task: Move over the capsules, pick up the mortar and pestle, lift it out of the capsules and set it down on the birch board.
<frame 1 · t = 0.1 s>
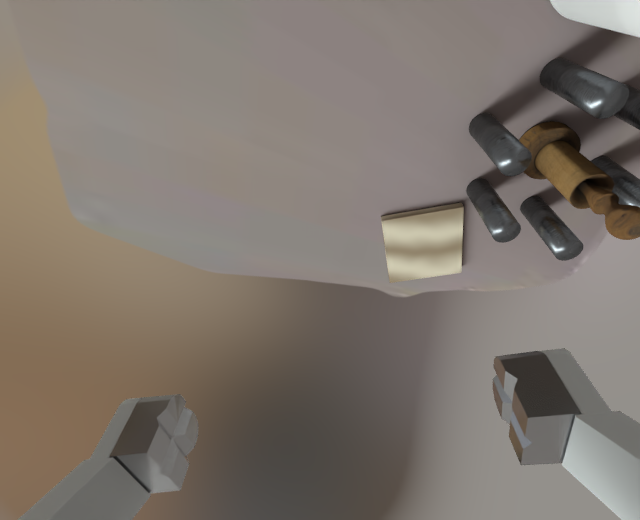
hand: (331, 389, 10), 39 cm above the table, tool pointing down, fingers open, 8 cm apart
birch board: (422, 243, 55), on the table
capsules: (542, 147, 45), on the table
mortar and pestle: (541, 146, 45), on the table
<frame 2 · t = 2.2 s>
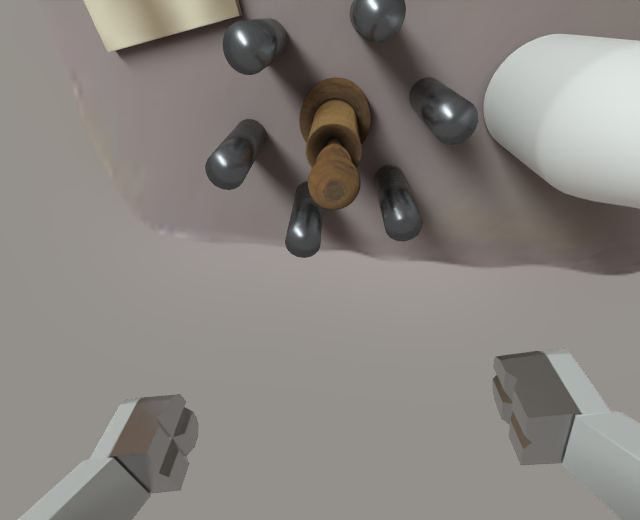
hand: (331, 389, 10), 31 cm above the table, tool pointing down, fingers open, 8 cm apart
wine bottle: (533, 94, 33), on the table
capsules: (335, 116, 35), on the table
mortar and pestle: (335, 115, 35), on the table
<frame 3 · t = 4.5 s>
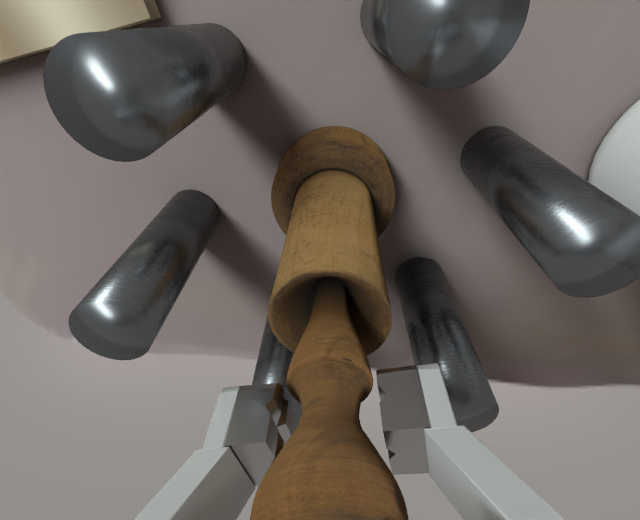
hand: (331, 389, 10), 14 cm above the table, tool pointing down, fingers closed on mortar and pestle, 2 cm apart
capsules: (333, 185, 21), on the table
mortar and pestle: (333, 184, 21), on the table, touching gripper
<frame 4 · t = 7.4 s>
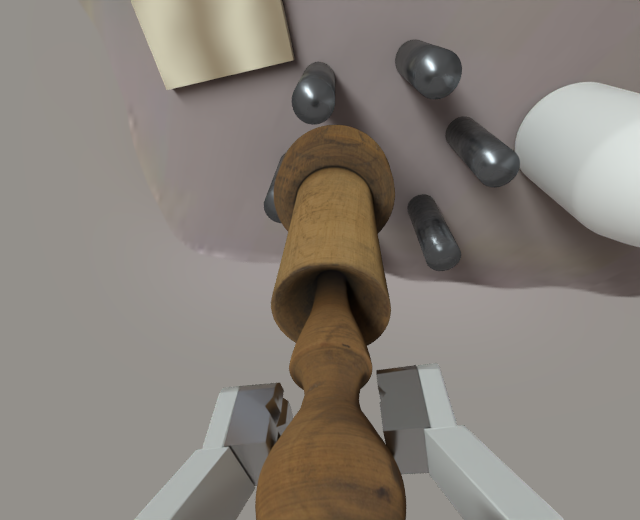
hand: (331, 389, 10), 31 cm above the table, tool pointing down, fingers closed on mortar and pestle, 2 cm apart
birch board: (209, 2, 31), on the table
wine bottle: (560, 133, 36), on the table
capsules: (374, 149, 37), on the table
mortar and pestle: (334, 182, 21), point 17 cm above the table, touching gripper
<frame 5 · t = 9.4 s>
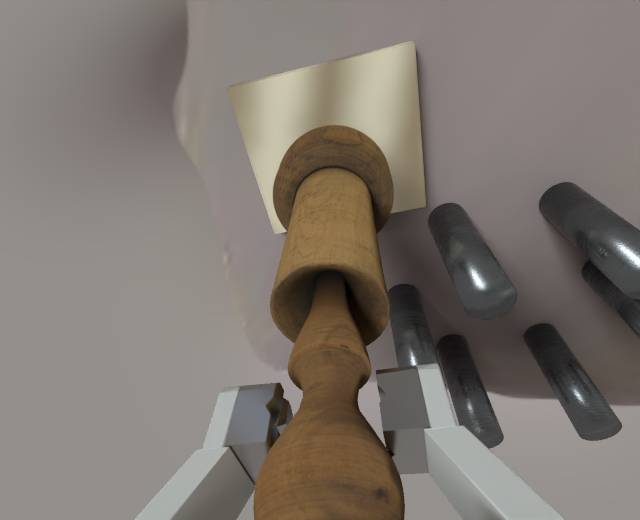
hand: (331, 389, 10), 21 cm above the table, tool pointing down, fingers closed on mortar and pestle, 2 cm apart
birch board: (334, 147, 27), on the table
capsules: (497, 283, 33), on the table
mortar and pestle: (333, 182, 21), point 6 cm above the table, touching gripper
when the fingers open (16 cm above the table, at t = 10.7 s): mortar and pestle stays where it is, resting on birch board.
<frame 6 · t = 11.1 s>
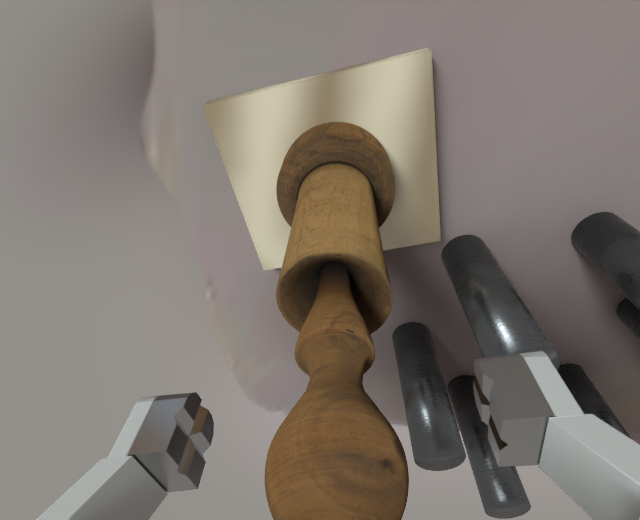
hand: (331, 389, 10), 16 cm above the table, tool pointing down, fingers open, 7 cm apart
birch board: (332, 172, 23), on the table
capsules: (519, 321, 29), on the table
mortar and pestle: (335, 178, 22), point 1 cm above the table, touching birch board
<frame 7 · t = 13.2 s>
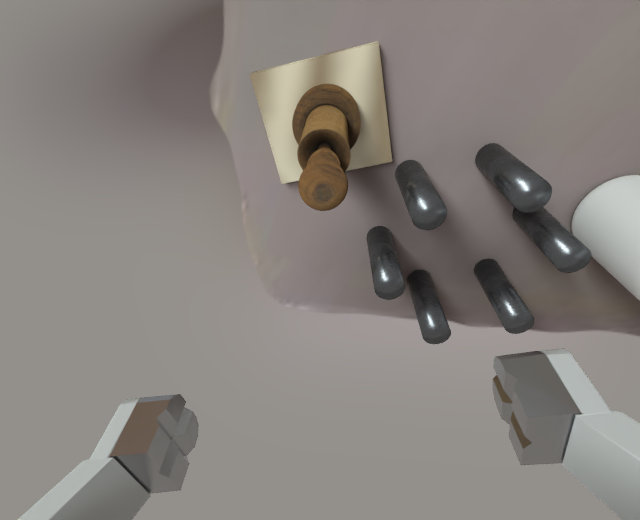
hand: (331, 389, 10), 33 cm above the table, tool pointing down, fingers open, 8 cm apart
birch board: (325, 117, 37), on the table
wine bottle: (610, 210, 42), on the table
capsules: (450, 224, 43), on the table
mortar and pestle: (326, 119, 36), point 1 cm above the table, touching birch board
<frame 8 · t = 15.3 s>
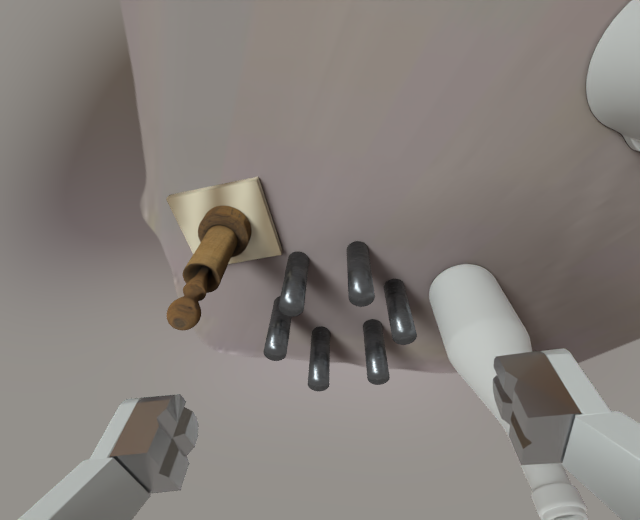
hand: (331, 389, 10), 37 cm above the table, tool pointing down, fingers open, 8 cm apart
birch board: (228, 223, 49), on the table
wine bottle: (459, 286, 54), on the table
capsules: (337, 295, 56), on the table
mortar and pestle: (227, 227, 48), point 1 cm above the table, touching birch board
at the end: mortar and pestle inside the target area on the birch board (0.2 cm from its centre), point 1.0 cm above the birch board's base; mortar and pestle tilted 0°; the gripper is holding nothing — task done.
